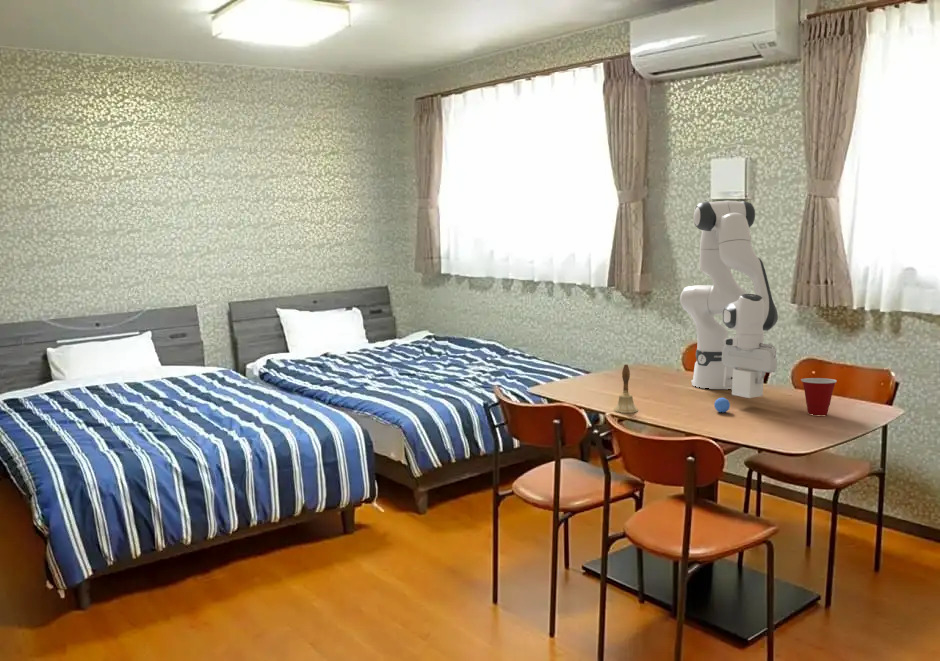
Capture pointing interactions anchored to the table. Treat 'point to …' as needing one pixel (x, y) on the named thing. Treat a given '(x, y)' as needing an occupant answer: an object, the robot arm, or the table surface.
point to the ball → (722, 405)
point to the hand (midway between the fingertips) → (747, 381)
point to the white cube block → (746, 383)
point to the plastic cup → (818, 394)
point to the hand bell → (625, 395)
